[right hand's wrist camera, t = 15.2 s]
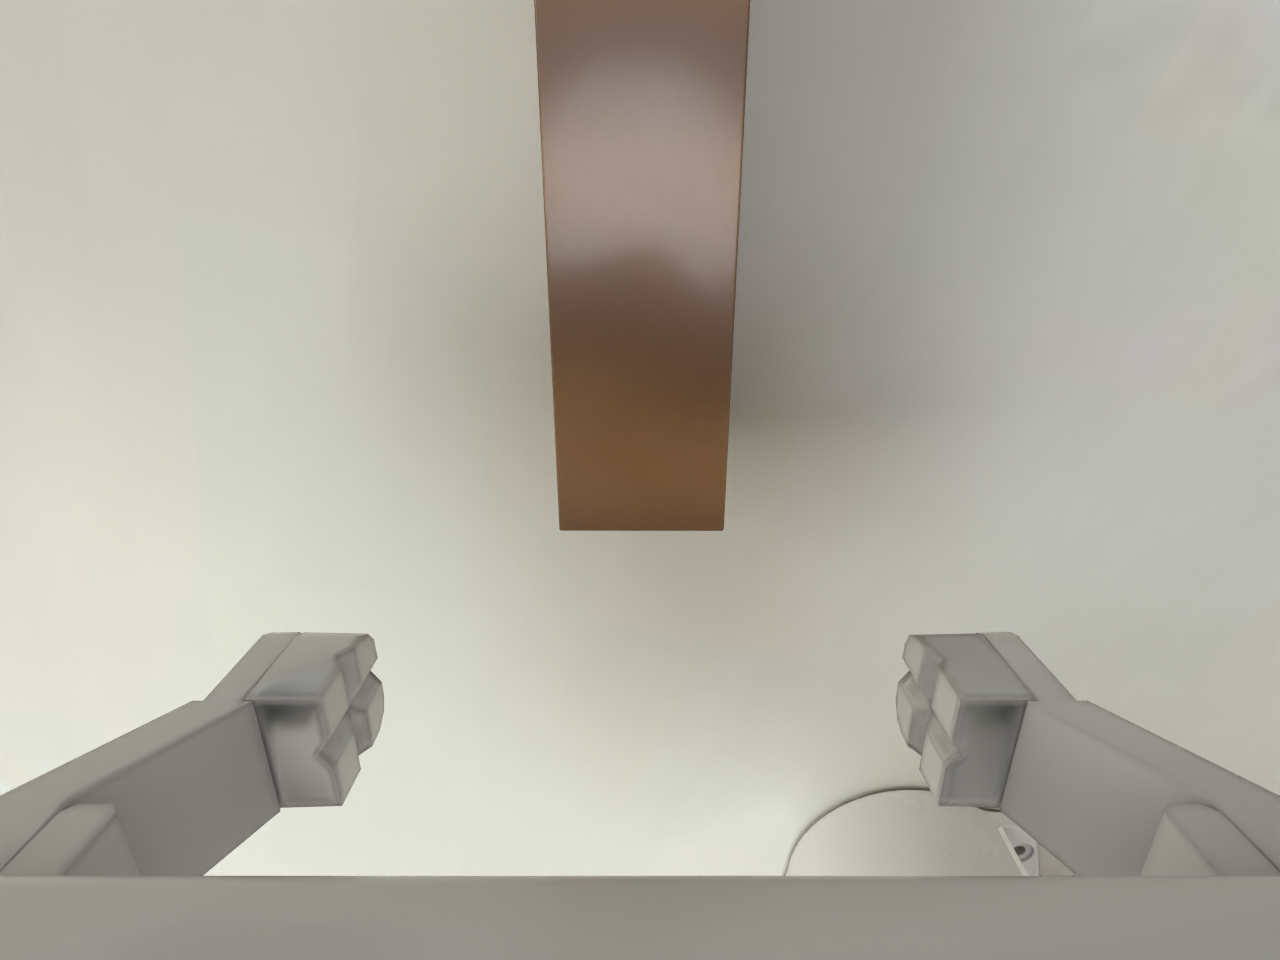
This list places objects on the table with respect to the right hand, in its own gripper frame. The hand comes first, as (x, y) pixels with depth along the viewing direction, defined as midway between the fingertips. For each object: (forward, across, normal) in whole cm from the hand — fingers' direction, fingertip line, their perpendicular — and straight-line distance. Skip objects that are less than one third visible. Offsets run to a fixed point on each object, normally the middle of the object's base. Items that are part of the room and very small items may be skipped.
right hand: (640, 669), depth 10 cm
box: (+25, 0, -10) cm, 27 cm away
